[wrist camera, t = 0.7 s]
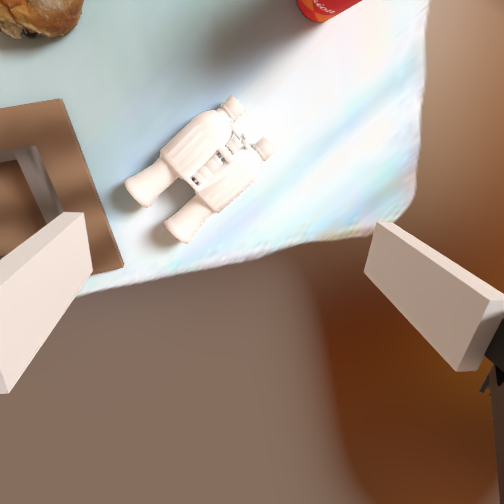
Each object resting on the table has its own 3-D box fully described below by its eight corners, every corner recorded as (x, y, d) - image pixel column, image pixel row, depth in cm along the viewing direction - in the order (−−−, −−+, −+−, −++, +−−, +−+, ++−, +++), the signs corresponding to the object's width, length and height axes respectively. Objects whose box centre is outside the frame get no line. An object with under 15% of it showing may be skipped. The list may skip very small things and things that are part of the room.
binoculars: (125, 180, 38) (117, 186, 34) (222, 87, 36) (227, 82, 32) (186, 238, 42) (186, 250, 38) (275, 158, 40) (286, 161, 36)
